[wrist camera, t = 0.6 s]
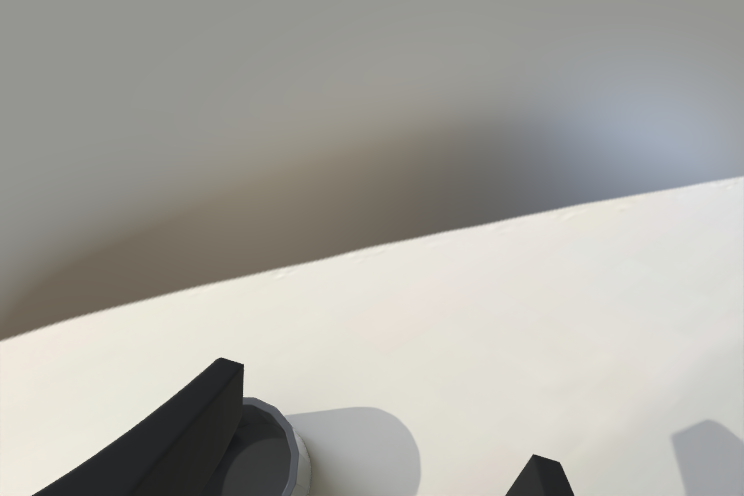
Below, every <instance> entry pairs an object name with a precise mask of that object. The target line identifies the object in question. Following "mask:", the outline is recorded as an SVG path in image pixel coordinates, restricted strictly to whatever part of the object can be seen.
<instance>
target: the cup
mask: <svg viewBox="0 0 744 496" xmlns="http://www.w3.org/2000/svg"><path fill="white" fill-rule="evenodd" d="M310 484H311V464H310V459H309V455H308V452H307V449H306V447H305V444H304V442H303V441H302V439H301V438H300V437H299V435H298V434H297V433H296V431H295V430H294V429H293V427H292V426H291V425H290V424H289V422H288V421H287V420H286V419H285V418H284V416H283V415H282V414H281V413H280V411H279V410H278V409H277V408H276V407H274V406H272V405H270V404H268V403H265V402H263V401H261V400H259V399H257V398H254V397H243V409H242V417H241V419H240V422H239V424H238V426H237V428H236V430H235V432H234V435H233V437H232V439H231V441H230V443H229V445H228V447H227V449H226V451H225V453H224V455H223V457H222V459H221V460H220V462H219V464H218V466H217V467H216V469H215V471H214V472H213V474H212V476H211V477H210V479H209V481H208V482H207V484H206V486H205V487H204V489H203V490H202V492H201V494H200V495H199V496H308V494H309V490H310Z"/></svg>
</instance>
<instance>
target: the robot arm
mask: <svg viewBox="0 0 744 496" xmlns="http://www.w3.org/2000/svg"><path fill="white" fill-rule="evenodd" d="M243 377H244V364H241V363H237V362H234V361H231V360H228V359H225V358H219V359H217V360H215V361H214V362H213V363H212V364H211V365H210V366H209V367H207V368H206V369H205V370H204V371H203V372H202V373H201V374H199V375H198V376H197V377H196V378H195V379H194V380H192V381H191V382H190V383H189V384H188V385H186V386H185V387H184V388H183V389H182V390H180V391H179V392H178V393H177V394H175V395H174V396H173V397H172V398H171V399H169V400H168V401H167V402H166V403H164V404H163V405H162V406H160V407H159V408H158V409H157V410H155V411H154V412H153V413H151V414H150V415H149V416H148V417H146V418H145V419H144V420H142V421H141V422H140V423H139V424H137V425H136V426H135V427H133V428H132V429H131V430H129V431H128V432H126V433H125V434H124V435H122V436H121V437H119V438H118V439H117V440H115V441H114V442H112V443H111V444H110V445H108V446H107V447H105V448H104V449H103V450H101V451H100V452H98V453H97V454H96V455H94V456H93V457H91V458H90V459H88V460H87V461H85V462H84V463H82V464H81V465H79V466H78V467H76V468H75V469H73V470H72V471H70V472H69V473H67V474H66V475H64V476H63V477H61V478H59V479H58V480H56V481H55V482H53V483H51V484H50V485H48V486H47V487H45V488H44V489H42V490H40V491H39V492H37V493H35V494H34V495H32V496H199V495H200V494H201V492H202V490H203V489H204V487H205V486H206V484H207V482H208V481H209V479H210V477H211V476H212V474H213V472H214V471H215V469H216V467H217V466H218V464H219V462H220V460H221V459H222V457H223V455H224V453H225V451H226V449H227V447H228V445H229V443H230V441H231V439H232V437H233V435H234V432H235V430H236V428H237V426H238V424H239V422H240V419H241V417H242V409H243ZM505 496H574V493H573V491H572V489H571V486H570V484H569V482H568V479H567V477H566V475H565V472H564V470H563V468H562V466H561V464H560V462H557V461H554V460H551V459H547V458H544V457H541V456H538V455H534V454H533V455H532V457H531V458H530V460H529V461H528V463H527V464H526V466H525V467H524V469H523V470H522V472H521V473H520V475H519V476H518V478H517V479H516V481H515V482H514V484H513V485H512V486H511V488H510V489H509V491H508V492H507V494H506V495H505Z"/></svg>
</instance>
